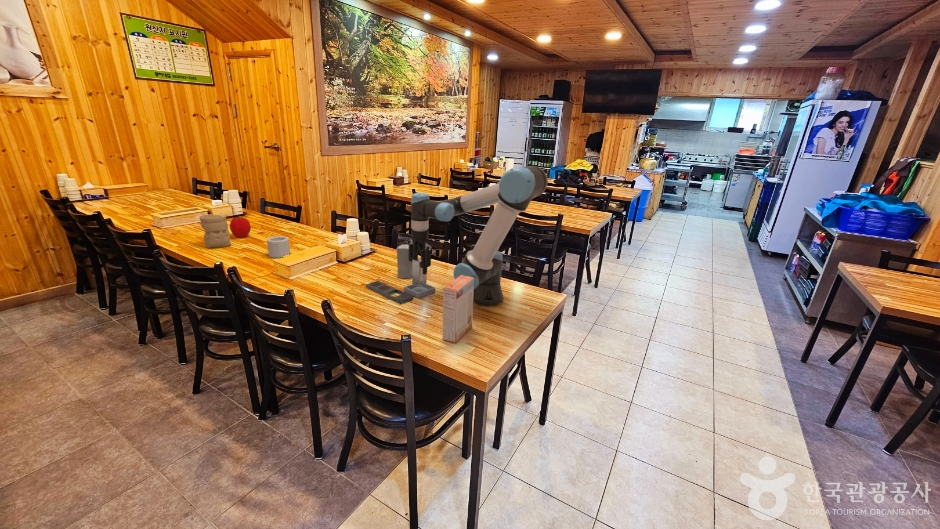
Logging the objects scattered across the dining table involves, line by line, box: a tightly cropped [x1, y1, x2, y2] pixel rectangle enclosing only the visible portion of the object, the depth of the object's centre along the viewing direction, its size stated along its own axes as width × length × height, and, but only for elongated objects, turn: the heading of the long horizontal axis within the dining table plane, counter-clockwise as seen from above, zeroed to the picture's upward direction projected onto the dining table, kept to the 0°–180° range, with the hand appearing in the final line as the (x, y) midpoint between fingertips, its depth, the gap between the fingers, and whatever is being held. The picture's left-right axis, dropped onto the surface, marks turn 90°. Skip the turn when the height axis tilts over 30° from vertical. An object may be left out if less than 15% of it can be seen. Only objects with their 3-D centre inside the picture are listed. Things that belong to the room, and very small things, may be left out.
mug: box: [266, 235, 291, 259], centre depth 207 cm, size 14×11×10 cm
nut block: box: [411, 256, 428, 287], centre depth 168 cm, size 5×5×12 cm
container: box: [199, 213, 232, 248], centre depth 215 cm, size 13×13×18 cm
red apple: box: [229, 216, 251, 238], centre depth 235 cm, size 12×12×13 cm
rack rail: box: [365, 280, 414, 305], centre depth 168 cm, size 25×7×2 cm, turn 50°
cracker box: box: [442, 275, 474, 344], centre depth 135 cm, size 14×6×21 cm, turn 154°
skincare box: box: [396, 244, 412, 280], centre depth 187 cm, size 8×7×16 cm
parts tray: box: [403, 283, 436, 300], centre depth 171 cm, size 10×10×2 cm
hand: (419, 278), depth 169 cm, fingers closed on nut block, 5 cm apart
